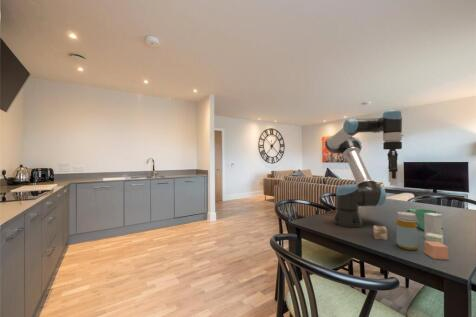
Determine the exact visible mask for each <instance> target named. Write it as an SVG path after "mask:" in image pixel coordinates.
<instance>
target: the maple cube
mask: <svg viewBox="0 0 476 317" xmlns="http://www.w3.org/2000/svg"><path fill="white" fill-rule="evenodd" d="M373 237H374V239H377V240H383V241H388V228H387V227H386V226H381V225H373Z"/></svg>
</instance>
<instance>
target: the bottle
mask: <svg viewBox="0 0 476 317" xmlns="http://www.w3.org/2000/svg"><path fill="white" fill-rule="evenodd" d="M396 214H397V215H396V216H397V221H396V222H395V223H396V226H395V228H396V245H397V247H399V248H400V249H403V250H407V251H415V250H417V249H418V228H417V227H418V226H417V225H416V223H415V221H416V213H414V212H411V211H410V212H407V211H397V213H396Z"/></svg>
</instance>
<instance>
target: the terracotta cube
mask: <svg viewBox="0 0 476 317" xmlns="http://www.w3.org/2000/svg"><path fill="white" fill-rule="evenodd" d="M423 245H424V254H425V255H427V256H429V257H430V258H431V259H434V260H449V246H446V245H445V244H444V243H443V244H441V243H440V242H431V241H426V240H424V244H423Z"/></svg>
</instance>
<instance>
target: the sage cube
mask: <svg viewBox="0 0 476 317" xmlns="http://www.w3.org/2000/svg"><path fill="white" fill-rule="evenodd" d="M425 241H431V242H440V243H441V244H443V245H444V234H443V235H438V234H433V233H427V234H426V238H425Z"/></svg>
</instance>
